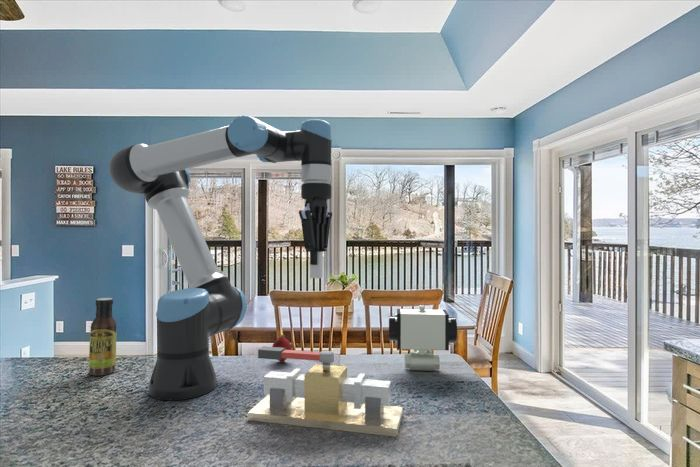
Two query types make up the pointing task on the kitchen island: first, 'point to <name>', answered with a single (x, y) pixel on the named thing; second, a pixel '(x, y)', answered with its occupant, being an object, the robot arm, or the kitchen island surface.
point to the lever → (295, 354)
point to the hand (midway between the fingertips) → (316, 277)
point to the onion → (282, 345)
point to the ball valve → (422, 335)
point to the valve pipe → (328, 401)
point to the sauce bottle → (103, 339)
